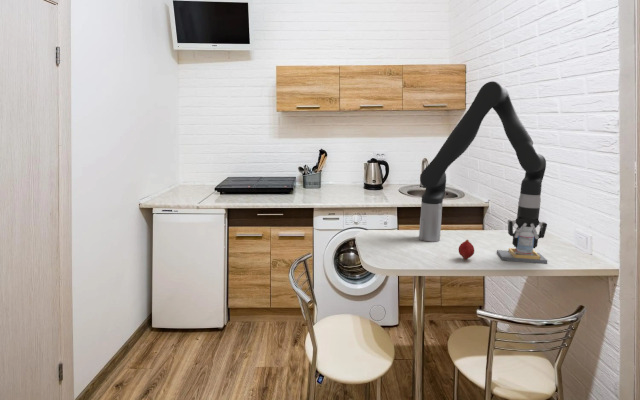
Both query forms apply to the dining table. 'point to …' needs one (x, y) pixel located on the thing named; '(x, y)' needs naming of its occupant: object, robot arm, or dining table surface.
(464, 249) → the onion
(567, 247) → the dining table surface
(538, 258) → the plate
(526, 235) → the pill bottle
